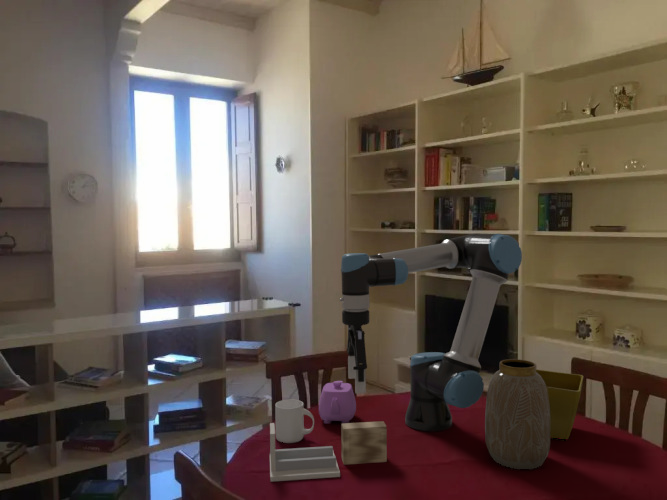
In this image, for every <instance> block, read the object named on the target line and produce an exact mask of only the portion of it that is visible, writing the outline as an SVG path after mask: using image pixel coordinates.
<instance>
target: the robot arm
mask: <svg viewBox="0 0 667 500" xmlns="http://www.w3.org/2000/svg"><path fill="white" fill-rule="evenodd" d="M522 261H523V252H522V248H521V247H520V244H519V242H518V241H517V240H516V239H515V238H514V237H513V236H511V235H507V234H502V233H470V234H466V235H462V236H458V237H457V236H456V237H453V238H448V239H444V240H443V241H442V242H441V243H437V244H430V245H426V246H419V247H413V248H408V249H401V250H395V251H390V252H383V253H382V252H381V253H377V254H371V255H369V254H368V253H366V252H365V253H364V252H356V253H355V252H352V253H351V252H350V253H349V252H348V253H345V254H343V255H342V256H341V265H340V266H341V267H340V268H341V269H340V272H341V296H342V297H340V298H339V301H340V302H341V307H342V309H343V310H342V311H341V317H342V318H341V322H342V324H343V325H345V326H346V325H347V328H348V329H347V341H346V342H347V344H346V345H347V346H346V351H347V355H348V357H347V365H348V366H347V369H348V370H347V375H348V379H349V380H351V379H354V385H355V386H354V389H355V390H354V392H355V394H356V395H357V394H358V395H359V394H366V393H367V392H366V391H367V390H366V389H367V386H366V380H367V379H366V374H367V373H366V372H367V369H368V364H367V353H366V343H365V330H363V328H362V326H366V325H368V324H369V323H370V310H369V309H370V288H373V287H386V286H399V285H403V284H405V283H406V282H407V280H408V278H409V277H408V276H409V274H412V273H417V272H422V271H428V270H434V269H439V268H447V269H450V270H451V269H456V268H462V269H463V268H464V269H469V272H470V274H471V276H472V279H471V282H470V284H469V285H470V286H469V288H468V292H467V295H466V298H465V302H464V305H463V308H462V312H461V315H460V319H459V322H458V323H457V324H458V325H457V327H456V332H455V334H454V338H453V341H452V344H451V348H450V351H449V352H446V353H445V352H438V351H437V352H436V351H434V352H433V351H430V352H429V351H428V352H419V353H415V354H413V355H412V356H411V357H410V363H409V364H410V366H409V368H410V399H409V404H408V406H407V408H406V412H405V416H404V421H405V422H404V423H405V425H406V426H408V427H410V428H412V429H414V430H418V431H422V432H441V431H445V430H449V429H450V428H451V427H452V426H453V416H452V413H451V410H450V407H449V405H450V406H452V407H456V408H459V409H465V408H469V407H471V406H472V405H476V403H477V402H478V401H479V400H480V398H481V397H482V395H483V393H484V387H485V385H484V384H485V383H484V381H483V380H484V379H483V377H482V376H481V375H480V374H481V373H480V372H481V369H482V366H481V364H480V362H479V357H480V354H481V352H482V348H483V345H484V342H485V338H486V335H487V332H488V328H489V324H490V321H491V319H492V318H491V317H492V315H493V311H494V309H495V304H496V301H497V298H498V295H499V291H500V288H501V286H502V285H503V284H506V283H507V282H508V280H509V275H510V274H513V273H515V272H516V271H518V270H519V268H520V266H521V264H522Z"/></svg>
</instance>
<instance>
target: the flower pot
mask: <svg viewBox="0 0 667 500" xmlns="http://www.w3.org/2000/svg"><path fill="white" fill-rule="evenodd" d="M536 372H537V373H538V374H539V375H540V376H541V377H542V378H543V380H544V382H545V384H546V387H547V390H548V396H549V403H550V418H551V437H552V438H551V439H553V438H561V439H568V440H569V437H570V435H571V432H572V429H573V426H574V423H575V419H576V415H577V411H578V407H579V402H580V399H581V393H582V388H583V383H584V375H583V374H576V373H568V372H560V371H559V372H558V371H552V370H544V369H536Z"/></svg>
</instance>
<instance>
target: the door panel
mask: <svg viewBox="0 0 667 500" xmlns="http://www.w3.org/2000/svg"><path fill="white" fill-rule="evenodd" d="M340 424H341V425H340V429H341V430H340V431H341V432H340V434H341V436H340V437H341V441H340V442H341V443H340V445H341V461H342V463H343V465H357V464H361V465H362V464H372V463H375V464H376V463H386V462H387V461H388V458H387V457H388V456H387V455H388V454H387V453H388V451H387V444H388V441H387V438H388V437H387V435H388V434H387V433H388V431H387V424H386V423H385V421H383V420H382V421H381V420H380V421H364V422H363V421H361V422H350V423H340Z"/></svg>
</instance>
